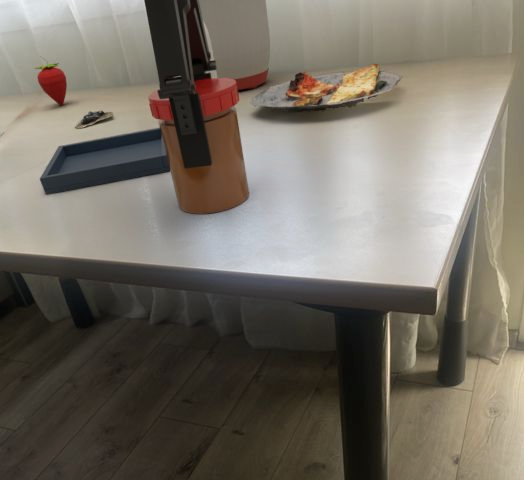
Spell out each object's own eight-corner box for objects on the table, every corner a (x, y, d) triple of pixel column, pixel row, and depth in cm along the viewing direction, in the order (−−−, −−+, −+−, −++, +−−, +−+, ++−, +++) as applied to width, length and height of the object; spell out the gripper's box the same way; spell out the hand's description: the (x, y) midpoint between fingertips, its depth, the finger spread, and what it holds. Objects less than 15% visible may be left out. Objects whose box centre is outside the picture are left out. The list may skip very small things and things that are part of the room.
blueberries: (121, 116, 101) (118, 105, 100) (90, 129, 96) (86, 118, 95) (97, 115, 105) (94, 105, 103) (66, 128, 100) (62, 117, 98)
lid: (134, 118, 53) (129, 99, 52) (193, 95, 59) (190, 77, 58) (198, 122, 49) (194, 101, 48) (256, 96, 54) (253, 77, 53)
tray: (45, 194, 69) (39, 178, 68) (63, 160, 82) (58, 146, 80) (171, 170, 70) (167, 154, 69) (169, 140, 82) (166, 126, 81)
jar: (179, 219, 56) (154, 114, 50) (177, 193, 62) (155, 97, 56) (253, 205, 56) (237, 99, 50) (244, 181, 63) (229, 84, 56)
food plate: (286, 87, 102) (284, 66, 99) (411, 78, 93) (411, 56, 91) (234, 125, 84) (230, 102, 82) (382, 119, 75) (382, 92, 73)
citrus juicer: (197, 85, 116) (176, -26, 104) (276, 73, 114) (264, -41, 102) (187, 101, 103) (161, -23, 92) (275, 89, 101) (260, -40, 90)
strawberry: (47, 111, 116) (28, 60, 110) (48, 105, 122) (31, 56, 116) (74, 105, 117) (57, 54, 111) (74, 99, 123) (58, 51, 117)
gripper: (169, -165, 34) (230, 182, 47) (209, -128, 51) (245, 120, 64) (57, -143, 35) (149, 192, 48) (133, -113, 52) (185, 128, 65)
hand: (204, 151), depth 56 cm, fingers closed on lid, 9 cm apart
